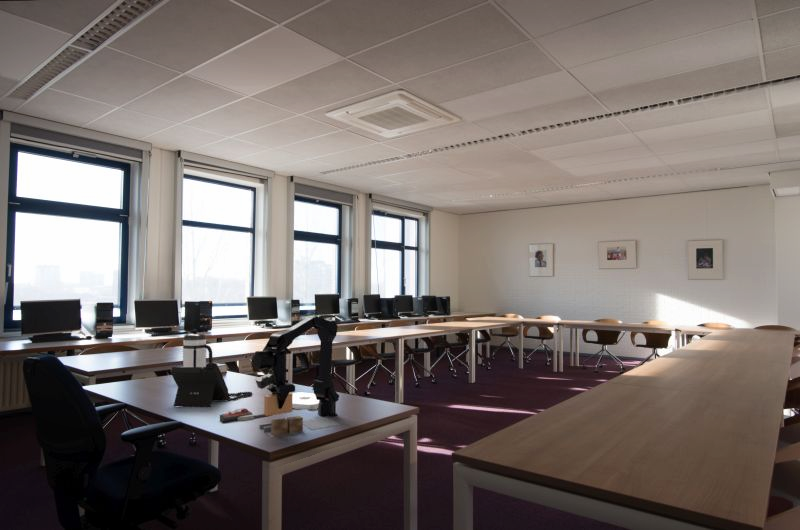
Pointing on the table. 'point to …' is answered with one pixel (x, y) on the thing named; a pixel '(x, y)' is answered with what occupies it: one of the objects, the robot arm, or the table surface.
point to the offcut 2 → (294, 424)
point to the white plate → (304, 401)
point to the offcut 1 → (278, 427)
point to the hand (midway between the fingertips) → (278, 407)
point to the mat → (319, 423)
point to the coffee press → (195, 350)
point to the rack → (267, 429)
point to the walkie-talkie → (238, 416)
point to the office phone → (201, 386)
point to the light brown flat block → (276, 405)
